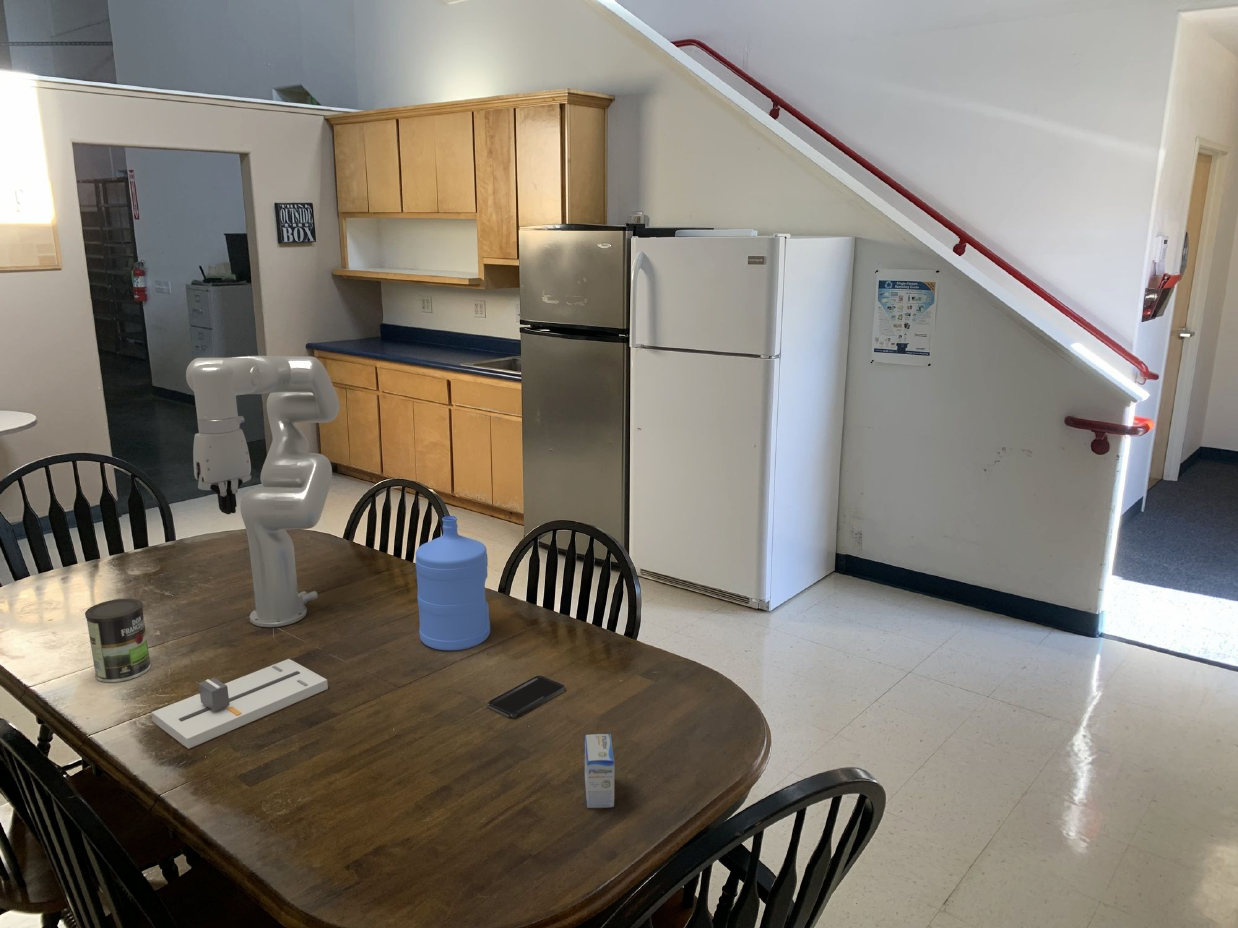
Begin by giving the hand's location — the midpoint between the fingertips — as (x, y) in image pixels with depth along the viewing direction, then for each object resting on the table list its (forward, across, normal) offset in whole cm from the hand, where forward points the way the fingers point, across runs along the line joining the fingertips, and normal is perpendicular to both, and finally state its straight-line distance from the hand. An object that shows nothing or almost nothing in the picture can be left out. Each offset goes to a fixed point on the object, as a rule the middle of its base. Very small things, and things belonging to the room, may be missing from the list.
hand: (228, 512), depth 187 cm
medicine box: (+32, -12, +91) cm, 97 cm away
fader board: (+32, +11, +20) cm, 39 cm away
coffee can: (+32, +20, -12) cm, 40 cm away
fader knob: (+30, +16, +20) cm, 39 cm away
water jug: (+32, -35, +28) cm, 55 cm away
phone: (+33, -26, +60) cm, 73 cm away
